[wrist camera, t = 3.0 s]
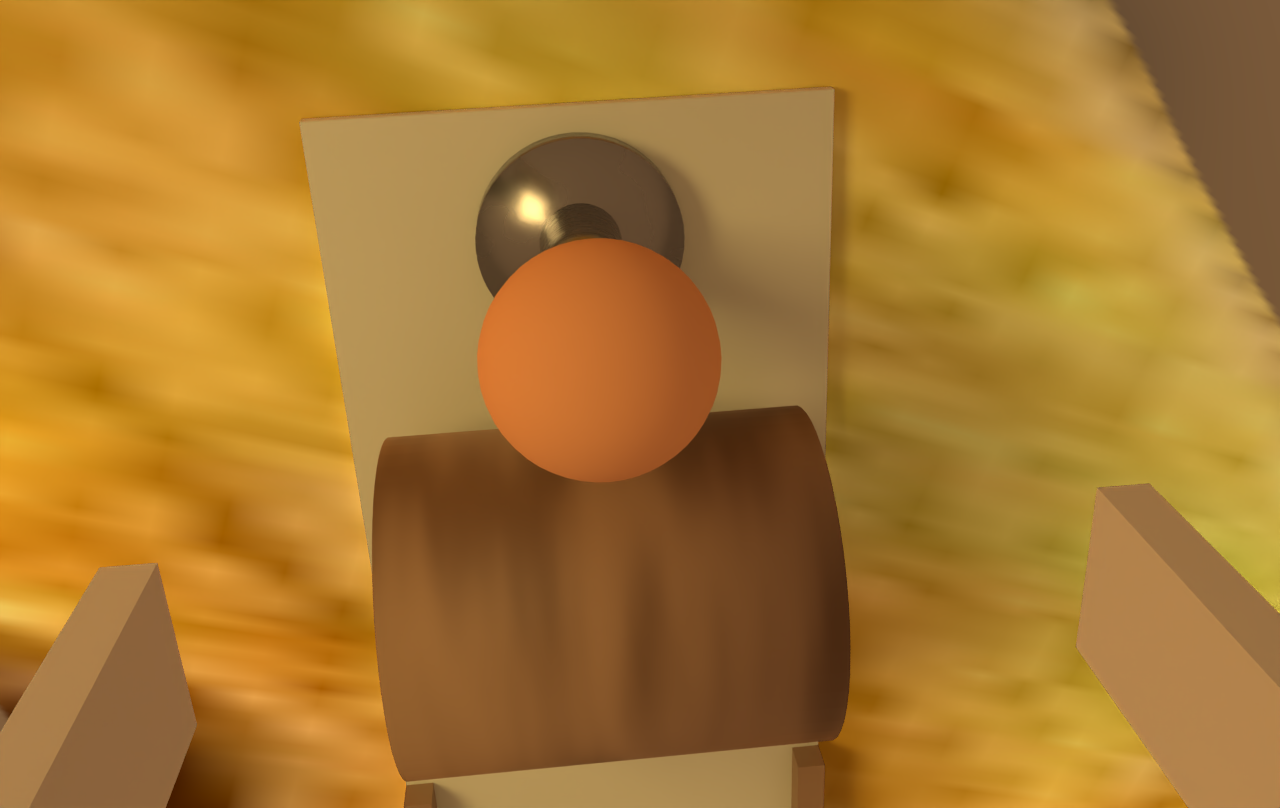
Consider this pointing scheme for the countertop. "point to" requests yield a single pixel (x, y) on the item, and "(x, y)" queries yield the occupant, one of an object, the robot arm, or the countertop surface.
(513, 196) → the doorknob
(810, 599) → the log
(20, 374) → the countertop surface
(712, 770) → the lane
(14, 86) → the countertop surface
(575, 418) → the ball
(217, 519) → the countertop surface
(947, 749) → the countertop surface
